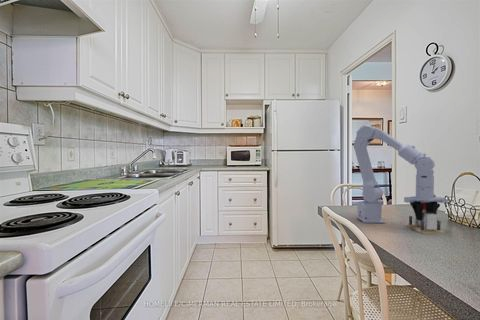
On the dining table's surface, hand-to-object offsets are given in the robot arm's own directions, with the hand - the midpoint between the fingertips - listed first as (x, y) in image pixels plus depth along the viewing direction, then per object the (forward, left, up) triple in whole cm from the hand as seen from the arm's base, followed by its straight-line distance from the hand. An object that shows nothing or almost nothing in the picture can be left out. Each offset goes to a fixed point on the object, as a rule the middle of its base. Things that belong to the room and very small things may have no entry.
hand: (424, 220), depth 94 cm
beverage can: (+12, +15, -4) cm, 19 cm away
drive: (0, 0, -2) cm, 3 cm away
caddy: (0, 0, -4) cm, 4 cm away
